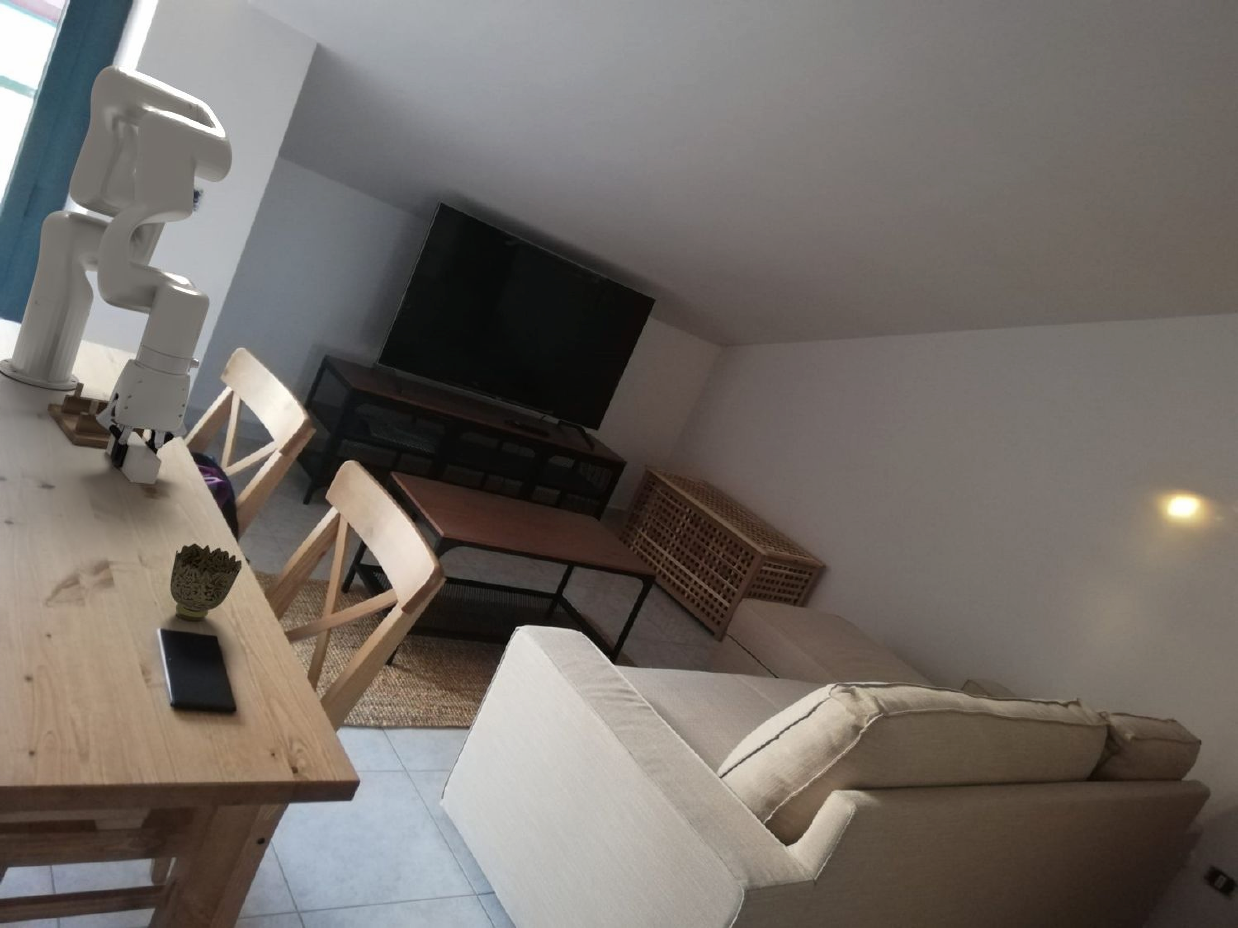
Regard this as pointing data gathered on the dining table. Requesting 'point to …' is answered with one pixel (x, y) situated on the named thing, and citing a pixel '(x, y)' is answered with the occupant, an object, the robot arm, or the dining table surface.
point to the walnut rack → (84, 419)
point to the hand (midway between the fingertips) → (130, 464)
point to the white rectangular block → (138, 460)
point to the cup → (201, 580)
